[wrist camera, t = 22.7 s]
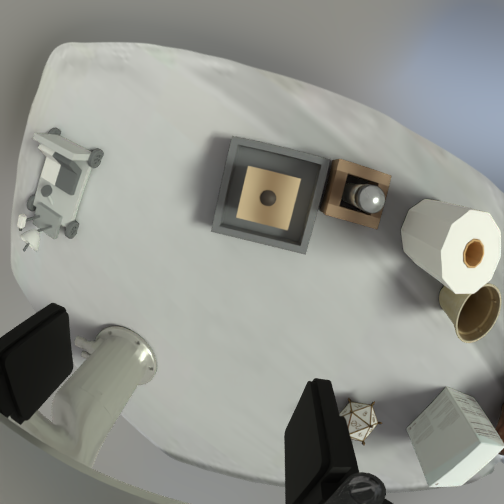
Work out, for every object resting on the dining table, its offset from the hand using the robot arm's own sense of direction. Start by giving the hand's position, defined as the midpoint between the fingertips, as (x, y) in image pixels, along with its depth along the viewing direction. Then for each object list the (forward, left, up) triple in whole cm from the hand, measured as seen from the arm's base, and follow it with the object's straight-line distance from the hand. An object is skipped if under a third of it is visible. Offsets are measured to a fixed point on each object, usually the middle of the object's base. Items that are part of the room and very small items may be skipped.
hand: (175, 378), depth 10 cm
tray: (+2, +5, -32) cm, 32 cm away
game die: (+26, -28, -32) cm, 50 cm away
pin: (+12, +8, -32) cm, 35 cm away
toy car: (-32, -1, -32) cm, 46 cm away
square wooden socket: (+12, +8, -32) cm, 35 cm away
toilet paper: (+26, +6, -32) cm, 42 cm away
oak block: (+2, +5, -31) cm, 32 cm away
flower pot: (+35, -2, -32) cm, 48 cm away
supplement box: (+50, -29, -32) cm, 66 cm away
